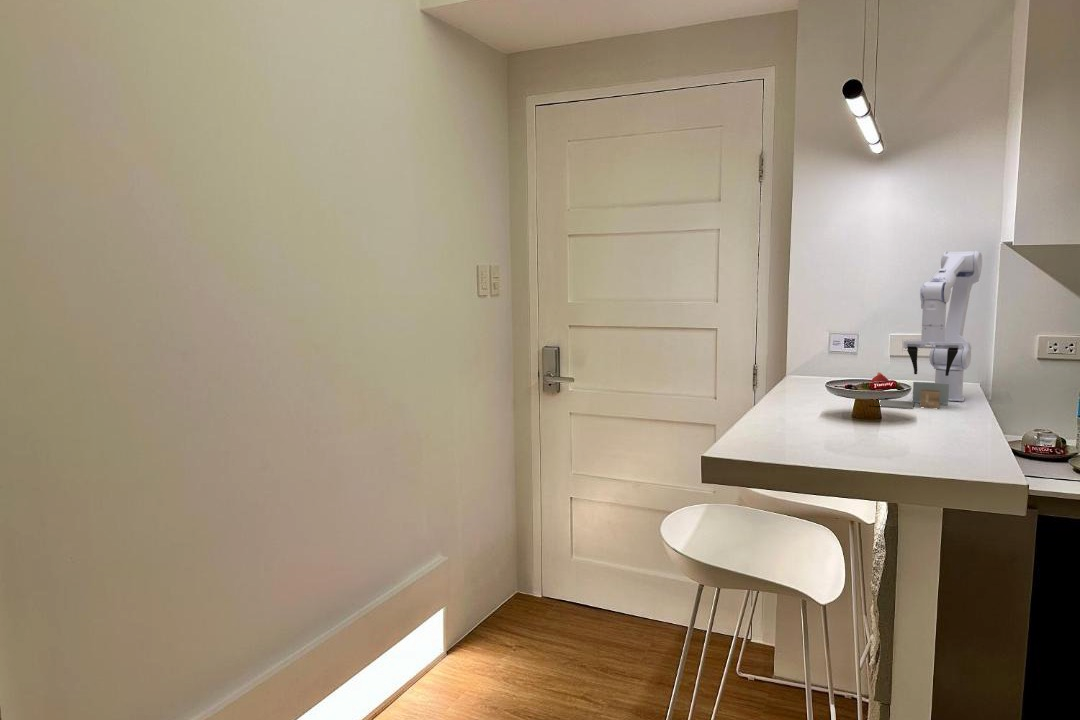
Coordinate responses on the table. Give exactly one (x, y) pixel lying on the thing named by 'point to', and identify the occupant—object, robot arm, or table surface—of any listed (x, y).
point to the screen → (931, 386)
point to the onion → (879, 378)
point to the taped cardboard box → (930, 398)
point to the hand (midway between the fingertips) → (931, 374)
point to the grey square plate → (897, 404)
